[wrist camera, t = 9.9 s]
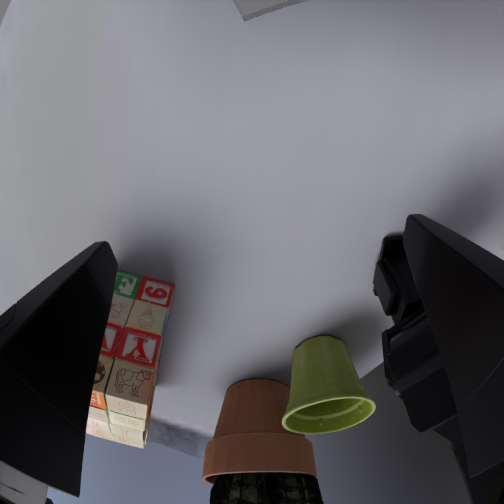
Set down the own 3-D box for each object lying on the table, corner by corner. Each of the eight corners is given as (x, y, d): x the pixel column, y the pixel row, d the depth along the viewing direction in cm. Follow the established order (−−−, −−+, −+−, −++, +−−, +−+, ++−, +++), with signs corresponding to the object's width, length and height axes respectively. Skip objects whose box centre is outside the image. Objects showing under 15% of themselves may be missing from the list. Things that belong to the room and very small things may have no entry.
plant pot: (268, 335, 32) (271, 410, 25) (357, 315, 30) (377, 389, 24) (287, 376, 37) (291, 439, 31) (360, 361, 36) (374, 422, 29)
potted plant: (262, 418, 46) (264, 560, 26) (189, 393, 41) (175, 560, 21) (327, 387, 40) (347, 558, 20) (252, 355, 34) (253, 577, 14)
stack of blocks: (156, 386, 40) (143, 465, 30) (114, 375, 39) (95, 452, 29) (175, 282, 28) (148, 408, 18) (110, 265, 26) (61, 381, 17)
